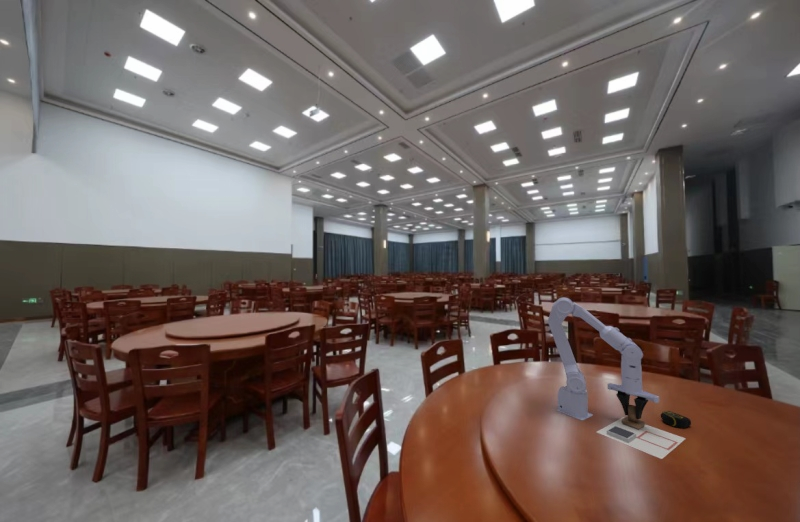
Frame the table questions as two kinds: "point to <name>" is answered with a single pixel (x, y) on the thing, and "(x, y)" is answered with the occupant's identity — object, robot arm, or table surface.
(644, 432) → the stamping mat
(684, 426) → the tape measure
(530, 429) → the table surface
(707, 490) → the table surface
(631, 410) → the stamp
